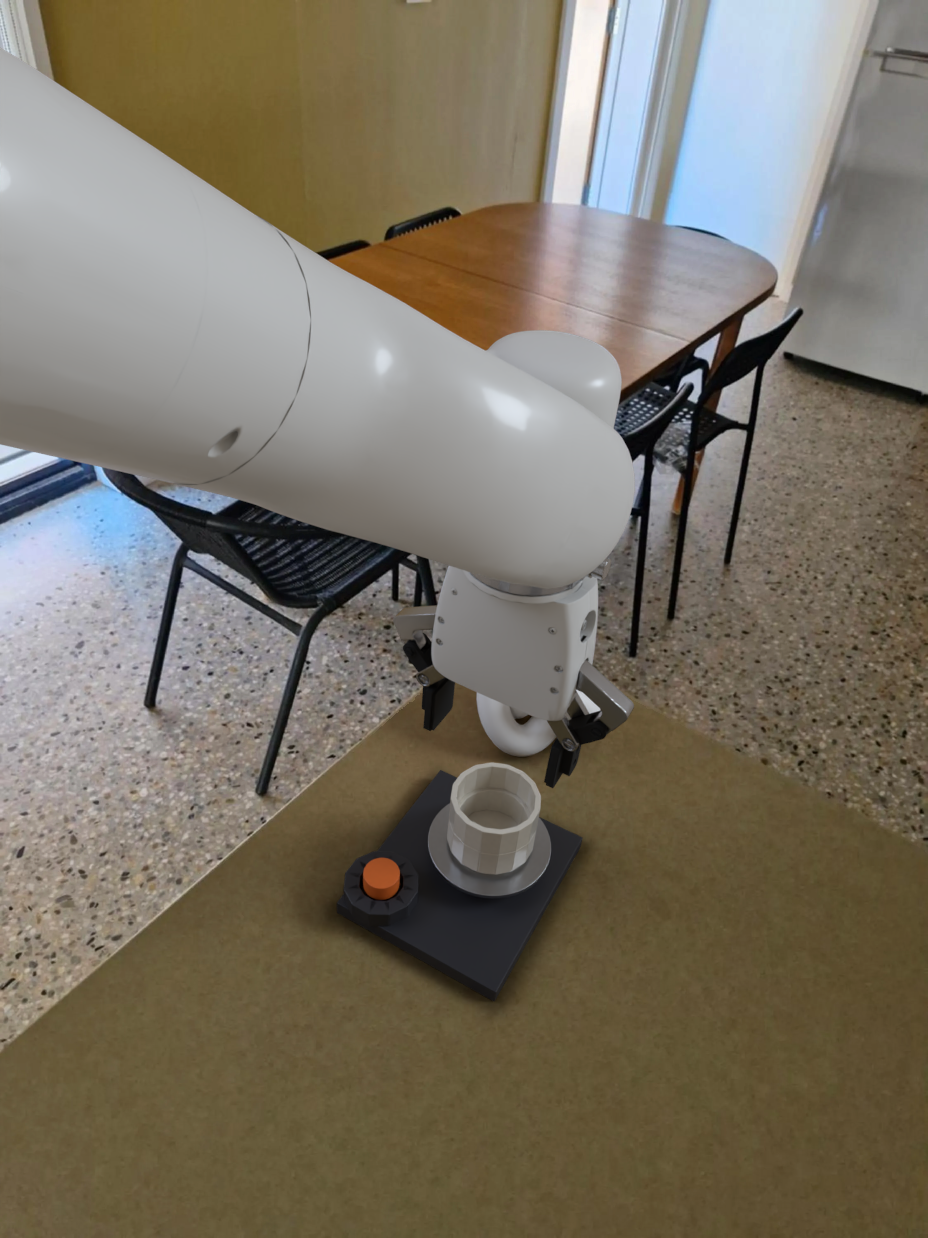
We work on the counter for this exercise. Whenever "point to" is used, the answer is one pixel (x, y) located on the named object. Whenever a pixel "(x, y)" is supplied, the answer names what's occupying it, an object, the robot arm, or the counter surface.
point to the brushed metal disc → (481, 882)
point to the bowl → (493, 818)
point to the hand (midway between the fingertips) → (496, 745)
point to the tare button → (381, 878)
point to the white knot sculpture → (518, 726)
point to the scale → (452, 902)
